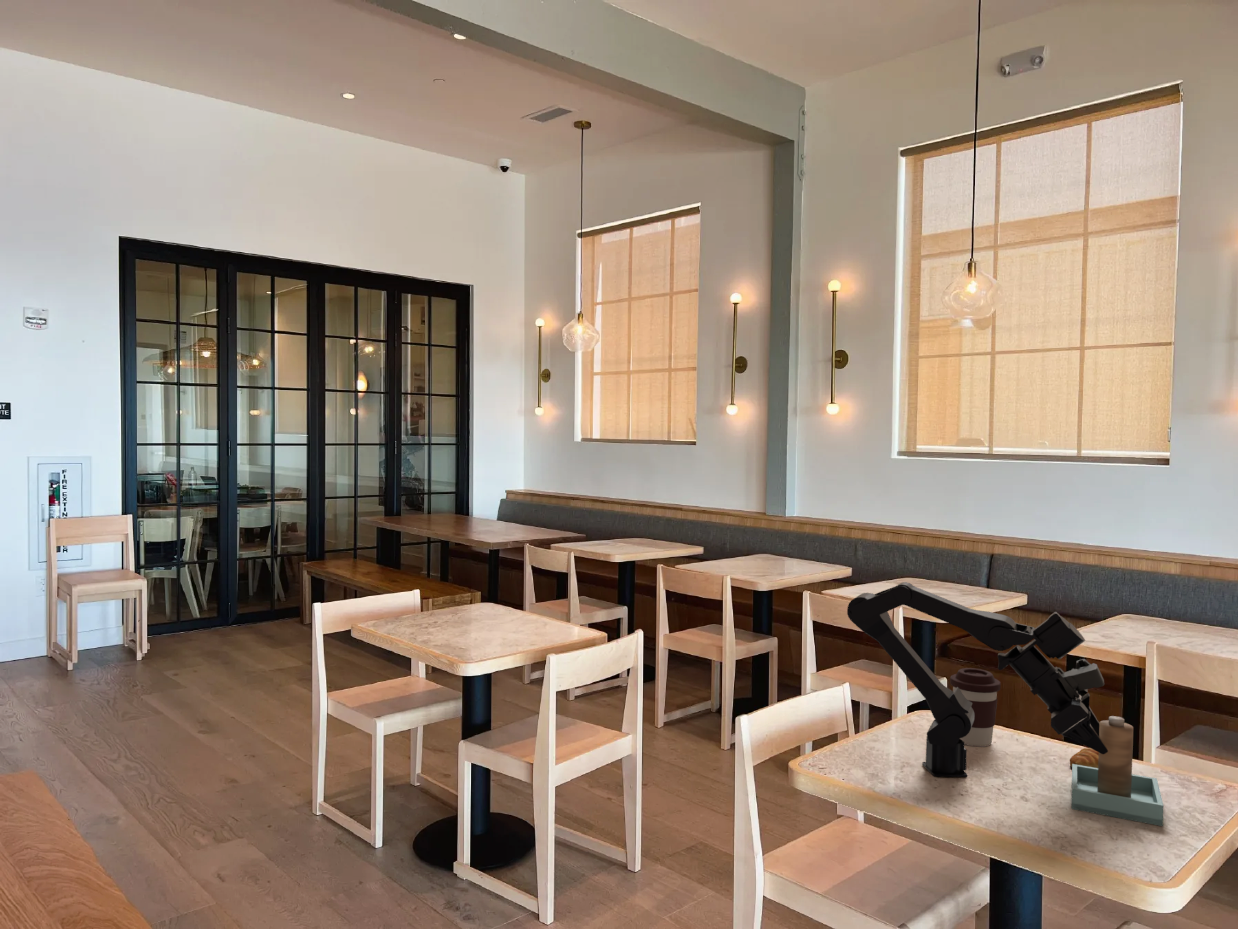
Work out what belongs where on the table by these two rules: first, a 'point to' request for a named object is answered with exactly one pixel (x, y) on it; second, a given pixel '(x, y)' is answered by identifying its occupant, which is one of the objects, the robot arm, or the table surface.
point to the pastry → (1085, 758)
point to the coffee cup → (978, 702)
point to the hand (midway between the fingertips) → (1105, 744)
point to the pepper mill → (1115, 757)
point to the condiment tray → (1117, 797)
